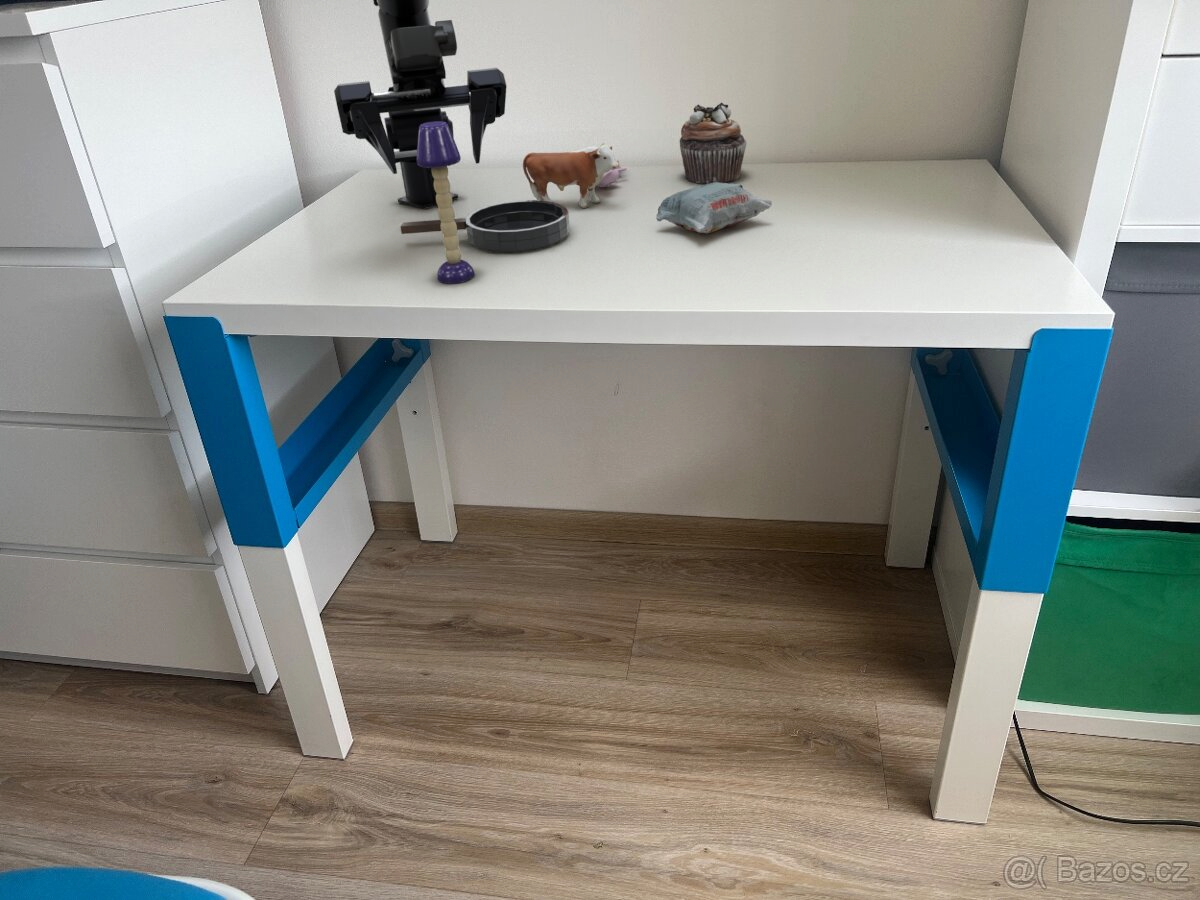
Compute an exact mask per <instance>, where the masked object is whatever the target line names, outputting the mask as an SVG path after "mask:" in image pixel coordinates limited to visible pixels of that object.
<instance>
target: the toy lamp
mask: <svg viewBox="0 0 1200 900" xmlns="http://www.w3.org/2000/svg"><path fill="white" fill-rule="evenodd" d="M461 159H462V157H461V154H460V151H459V148H458V146H457V143H456V141H455V137H454V138H453V136H452V133H451V131H450V128H449V126H448V124H447V123H446V122H442V121H435V122H427V123H423V124H421V125H420V127H419V133H418V146H417V164H418V165H419V166H420V167H425V168H431V171H432V175H433V177H434V179H435V180H434V189H435V191H436V193H437V195H436V202H437V205H436V206H437V207H438V210H437V213H438V218H439V219H438V220H440V221H441V231H440V232H441V234H442V235H443V237H442V243H443V246H444V249H445V252H444V253H445V259H446V261H444V262H443V263H442V264H441V265H440V266H439V268H438V270H437V274H436V275H437V276H436V277H437V280H438V282H439V283H443V284H459V283H463V282H467V281H469V280H472V279H473V278H475V275H476V273H475V270H474V268H473V266H472V265H471V263H469V262H468V261H466V260H465V259H464V260H463V259H462V252H461V249H460V240H459V236H458V234H457V231H458V230H457V225H456V223H455V221H454V219H455V216H456V215H455V210H454V208H453V200H452V196H451V194H450V193H451V183H450V180H449V168H448V167H450V166H454V165H456V164H458V163H460V162H461ZM447 177H448V178H447ZM449 191H450V192H449Z"/></svg>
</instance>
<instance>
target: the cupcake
mask: <svg viewBox="0 0 1200 900" xmlns="http://www.w3.org/2000/svg"><path fill="white" fill-rule="evenodd" d="M731 115H732V111H731V109H730V108H729V104H724V103H723V102H720V103H718V104H717V105H716V106H715V107H711V106H707V107H704V106H702V105H700V104H697V105H695V106H694V108H693V112H692V113H691V114H690V115H689V118H688V120H686V121H685V122H684V123H683V124H682V127H681V128H680V135H681V136H680V138H679V149H680V155H681V159H682V165H683V169H684V175H685V179H686V180H687V181H689V182H691V183H694V184H695V183H696V184H701V185H706V184H710V183H715V182H719V183H731V182H734V181H737V180H738V179H740V177H741V176H740V175H741V171H742V165H743V161H744V157H745V152H746V148H747V143H748V142H747V139H745V138H744V135H743V134H742V133H741V132H742V130H741V129H742V128H741V126H740V124H739V122H737V121H736V120H733V119H730V117H731Z"/></svg>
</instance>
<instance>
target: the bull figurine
mask: <svg viewBox="0 0 1200 900" xmlns="http://www.w3.org/2000/svg"><path fill="white" fill-rule="evenodd" d="M601 145H602V144H601ZM601 145H600V146H601ZM600 146H599V147H598V146H593V145H591V146H588V147H586V148H583V149H578V150H574V151H566V152H529V153H527V154H526V155H525V157H524V158H523V161H522V170H523V173H524V176H525V177H526V179H527V180H528V183H529V187H530V191H531V193H532V195H533V197H535V200H537V201H548V202H553V200H552V199H551V198H550V197H549V194H548V185H549V183H552V184H554V185H556V187H557V188H558V189H559V191H560V192H563V191H564V190H565V187H567V186H574V185H575V186H579V195H580V197H579V201H578V203H577V204H578V206H580V207H581V208H582V209H587V208H589V205H588V203H587V202H586V196H587V194H588V192H589V195H590V202H593V204H599V203H601V199H599V198H598V196H597V194H596V192H595V189H596V188H595V187H596V186H598V183H599V182H600V181H601V180H602V178H603V176H604V173H607V172H609V171H610V170H615V169H617V168H618V167H619V164H620V162H619V163H618V162H616V161H617V160H616V156H615V153H614V151H613V146H612V145H610V146H609V145H608V144H605V145H602V146H601V147H600ZM531 179H532V180H533V181H532V180H531Z"/></svg>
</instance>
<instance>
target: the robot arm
mask: <svg viewBox="0 0 1200 900" xmlns="http://www.w3.org/2000/svg"><path fill="white" fill-rule="evenodd" d="M372 3H373V5H374V7H378V13H377V14H378V20H379V26H380V30H381V34H382V39H383V44H384V47H385V48H384V50H385V53H386V59H387V63H388V67H389V72H390V77H391V82H392V86H389V87H388V90H387V91H382V92H372V87H371V82H370V81H369V80H366V81H365V80H364V81H356V82H347V83H338V84H336V85H337V86H336V87H335V88H334V90H333V92H334V98H335V101H336V102H335V103H336V107H337V112H338V117H339V121H340V125H341V130H342V133H343V134H345V135H348V136H350V135H354V136H355V138H356V139H357V140H365V141H366V142H367V143H369V145H370V146H371V147H372V148H373V149H374V150H375V151H376V152H377V153H378V154H379V156H380V157H381V159H382V160H383V162H384V163H385V164H386V165H387V167H388V168H389V170H390V171H391V173H392V174H393V175H397V174H398V169H397V164H400V170H401V176H402V181H403V187H404V193H405V195H404V196H401V197H398V198H397V203H399V204H403V205H407V206H411V207H415V208H419V209H428V208H431V207H434V206H438V205H437V202H436V195H437V193H436V191H435V189H434V180H435V179H434V177H433V175H432V171H431V168H425V167H420V166H419V165H418V164H417V146H418V133H419V127H420V125H421V124H423V123H427V122H435V121H442V122H446V123H447V124H448V126H449V128H450V131H451V133H452V136H453V138H454V139H455V136H454V123H453V121H452V120H451V119H450V118H449V116H448V115H447V111H446V110H442V109H445V108H447V109H448V108H455V107H463V106H468V110H469V125H470V126H469V127H470V135H471V146H472V156H473V158H474V162H475V164H477V165H478V164H480V161H481V153H482V146H483V145H482V144H483V138H484V135H485V132H486V129H487V126H488V125H493V124H494V123H495V122H496V119H498V118H501V117H503V116H504V115H505V113H506V112H505V111H506V99H507V82H506V78H505V74H504V73H503V72H502V70H500V69H499V68H497V67H491V68H481V69H470V70H467V72H466V73H467V74H466V75H467V77H466V78H467V79H466V84H463V85H456V86H447V87H446V83H445V80H446V79H447V73H446V67H445V63H444V59H443V57H452V56H456V55H457V51H458V41H457V37H456V32H455V28H454V23H453V20H452V19H447V20H446V19H445V20H437V21H435V22H434V25H432V23H431V19H430V15H429V9H428V8H429V6H430V5H429V4H430V0H372ZM386 113H388V116H387V117H383V120H384V122H383V120H382V117H381V114H386ZM383 123H384V124H385V125H384V124H383ZM447 178H448V179H449V176H448V177H447ZM449 192H450V194H451V196H452V201H453V200H456V199H459V194H458V193H456V192H455V193H454V192H451V190H450V191H449Z"/></svg>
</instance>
